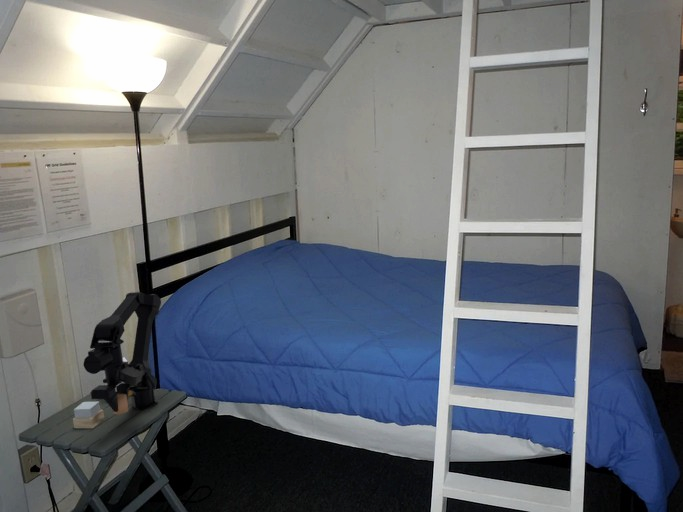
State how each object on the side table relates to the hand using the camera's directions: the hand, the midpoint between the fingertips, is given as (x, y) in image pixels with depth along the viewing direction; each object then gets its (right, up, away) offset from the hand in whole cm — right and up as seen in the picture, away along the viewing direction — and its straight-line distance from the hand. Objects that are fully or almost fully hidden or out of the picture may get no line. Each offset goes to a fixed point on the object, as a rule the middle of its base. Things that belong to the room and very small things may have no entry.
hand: (120, 408), depth 175 cm
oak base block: (-11, -6, +4) cm, 13 cm away
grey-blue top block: (-12, -3, +3) cm, 12 cm away
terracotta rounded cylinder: (0, -1, 0) cm, 1 cm away
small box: (-10, -2, +24) cm, 26 cm away
